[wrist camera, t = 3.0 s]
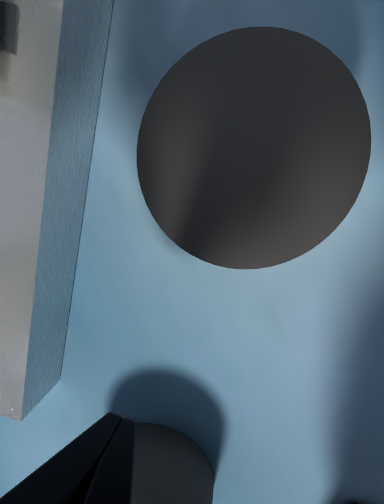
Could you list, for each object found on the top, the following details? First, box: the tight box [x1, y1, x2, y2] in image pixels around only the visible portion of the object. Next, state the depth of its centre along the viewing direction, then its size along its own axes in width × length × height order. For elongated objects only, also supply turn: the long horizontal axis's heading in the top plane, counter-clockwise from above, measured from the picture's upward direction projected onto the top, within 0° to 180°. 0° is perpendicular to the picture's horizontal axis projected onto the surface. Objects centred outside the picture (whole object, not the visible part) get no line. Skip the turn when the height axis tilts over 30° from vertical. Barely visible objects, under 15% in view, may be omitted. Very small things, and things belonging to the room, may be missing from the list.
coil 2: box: [137, 27, 371, 269], centre depth 8 cm, size 6×6×3 cm
